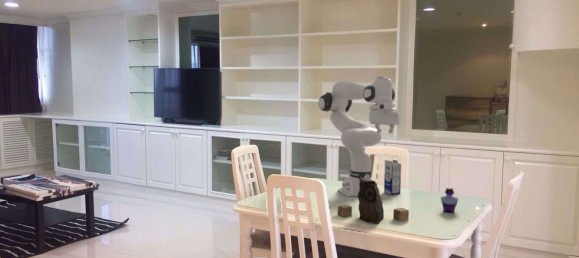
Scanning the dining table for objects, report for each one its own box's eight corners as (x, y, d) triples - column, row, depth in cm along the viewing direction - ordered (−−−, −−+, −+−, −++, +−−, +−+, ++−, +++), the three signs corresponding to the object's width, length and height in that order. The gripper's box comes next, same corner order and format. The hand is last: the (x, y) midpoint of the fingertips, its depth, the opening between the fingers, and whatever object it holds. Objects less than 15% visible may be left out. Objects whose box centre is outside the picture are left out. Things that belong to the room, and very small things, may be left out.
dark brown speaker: (378, 225, 211) (379, 182, 209) (352, 221, 216) (352, 179, 214) (384, 217, 222) (385, 177, 220) (359, 214, 227) (360, 175, 225)
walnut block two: (393, 219, 220) (393, 208, 220) (401, 217, 223) (401, 207, 222) (400, 221, 216) (400, 211, 216) (408, 220, 218) (408, 209, 218)
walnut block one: (337, 215, 227) (337, 205, 226) (345, 214, 229) (345, 203, 229) (343, 217, 222) (343, 207, 222) (351, 216, 225) (351, 206, 224)
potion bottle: (459, 210, 235) (460, 187, 234) (456, 214, 227) (456, 191, 226) (442, 208, 239) (442, 185, 238) (438, 212, 232) (438, 188, 231)
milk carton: (383, 192, 274) (384, 159, 272) (393, 191, 277) (393, 158, 275) (391, 195, 268) (392, 161, 266) (400, 193, 270) (401, 160, 268)
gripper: (392, 108, 253) (392, 133, 252) (366, 106, 240) (367, 132, 239) (401, 107, 248) (402, 133, 247) (376, 105, 235) (376, 132, 234)
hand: (385, 133), depth 243 cm, fingers open, 8 cm apart
